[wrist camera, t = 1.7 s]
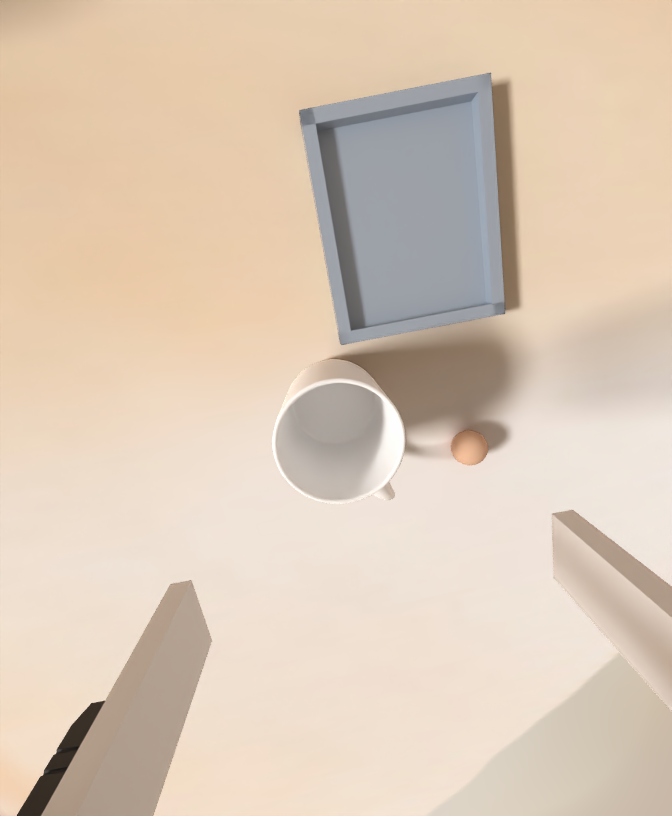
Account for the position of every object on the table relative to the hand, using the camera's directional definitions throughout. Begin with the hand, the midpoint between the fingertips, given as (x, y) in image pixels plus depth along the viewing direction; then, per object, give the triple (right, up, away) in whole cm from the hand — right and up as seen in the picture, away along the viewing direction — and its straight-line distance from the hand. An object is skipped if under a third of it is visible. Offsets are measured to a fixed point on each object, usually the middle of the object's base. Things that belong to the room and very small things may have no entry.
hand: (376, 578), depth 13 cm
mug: (-1, +5, +21) cm, 22 cm away
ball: (+11, +3, +22) cm, 25 cm away
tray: (+4, +21, +17) cm, 27 cm away
